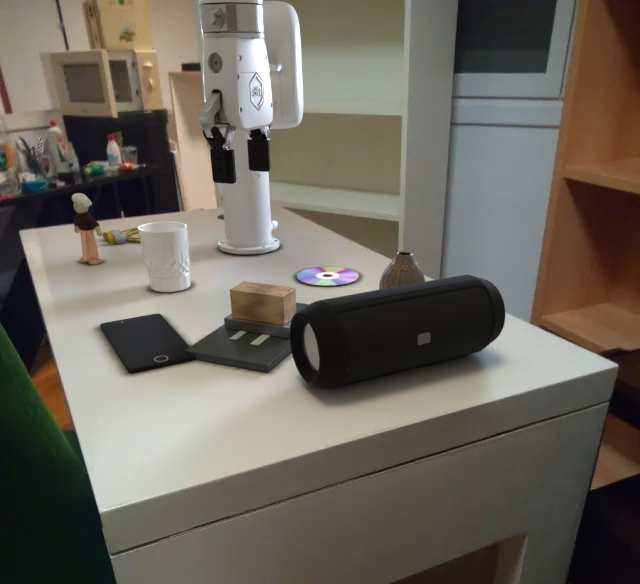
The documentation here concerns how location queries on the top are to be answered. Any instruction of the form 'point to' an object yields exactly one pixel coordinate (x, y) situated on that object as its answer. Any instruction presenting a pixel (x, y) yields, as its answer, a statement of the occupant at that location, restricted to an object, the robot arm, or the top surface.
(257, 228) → the robot arm
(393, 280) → the vase
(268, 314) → the eraser
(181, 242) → the white cup
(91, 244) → the grandmother figurine
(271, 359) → the slate board
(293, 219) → the top surface
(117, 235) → the yellow grey glove
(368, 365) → the portable speaker
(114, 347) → the cell phone
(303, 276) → the cd
